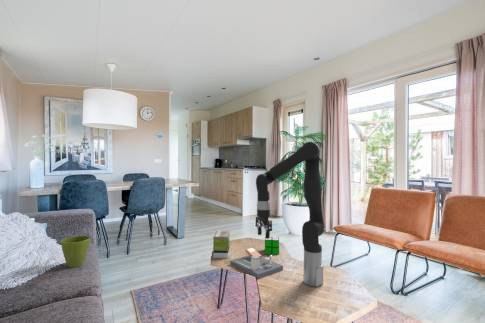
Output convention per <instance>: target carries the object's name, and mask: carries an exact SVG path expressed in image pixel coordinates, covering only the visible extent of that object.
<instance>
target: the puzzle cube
mask: <svg viewBox="0 0 485 323" xmlns="http://www.w3.org/2000/svg"><path fill="white" fill-rule="evenodd" d="M264 254H265V255H280V237H279V236H275V235H274V236H273V235H272V236H271V235H270V238H268V239H266V235H264Z"/></svg>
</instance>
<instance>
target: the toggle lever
mask: <svg viewBox="0 0 485 323" xmlns="http://www.w3.org/2000/svg"><path fill="white" fill-rule="evenodd" d="M268 258H269V261H268V265H269V264H270V261H272V258H273V254H269V257H268Z"/></svg>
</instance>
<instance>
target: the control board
mask: <svg viewBox="0 0 485 323" xmlns="http://www.w3.org/2000/svg"><path fill="white" fill-rule="evenodd" d="M265 258H266V257H263V256H261V258H260V268H259V269H256V270H254V269H252V268H251V256H250V255H249V254H247V255H245V256H241V257H238V258H237V257H236V258H235V259H230V265H231V266H232V267H234V268H236V269H239V270H240V271H243V272H244V273H246V274H248V275H250V276H252V277H254V278H256V279H259V280H260V279H263V278H264V277H268V276H270V275H274V274H275V273H278V272H281V271H283V270H284V265H283V264H280V263H277V262H276V261H275V262H274V261H273V260H271V261H270V264H269V265H268V263H265ZM267 275H268V276H267Z"/></svg>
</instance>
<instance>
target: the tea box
mask: <svg viewBox="0 0 485 323" xmlns="http://www.w3.org/2000/svg"><path fill="white" fill-rule="evenodd" d="M230 235H231V234H230V231H229V230H216V232H215V233H214V235H213V238H212V239H213V241H212V244H213V248H212V249H213V252H212V253H213V259H228V258H229V254H230V251H231V248H230V246H231V245H230V243H231V242H230Z"/></svg>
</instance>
